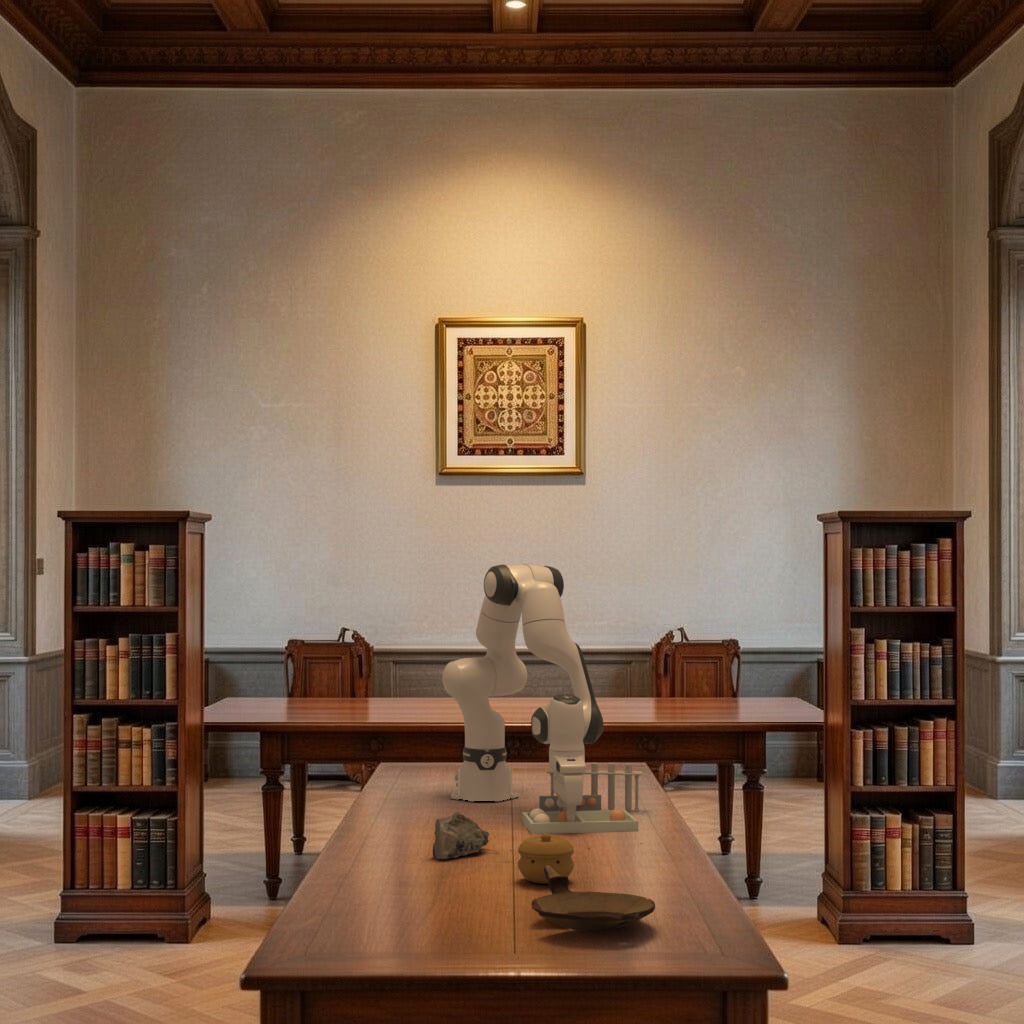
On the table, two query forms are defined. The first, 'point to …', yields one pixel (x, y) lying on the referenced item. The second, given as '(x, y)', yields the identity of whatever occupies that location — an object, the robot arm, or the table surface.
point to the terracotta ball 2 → (617, 815)
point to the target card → (586, 805)
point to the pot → (545, 857)
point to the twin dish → (581, 823)
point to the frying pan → (589, 906)
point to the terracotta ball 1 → (562, 816)
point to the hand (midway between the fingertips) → (566, 817)
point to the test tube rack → (612, 784)
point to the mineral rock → (457, 837)
